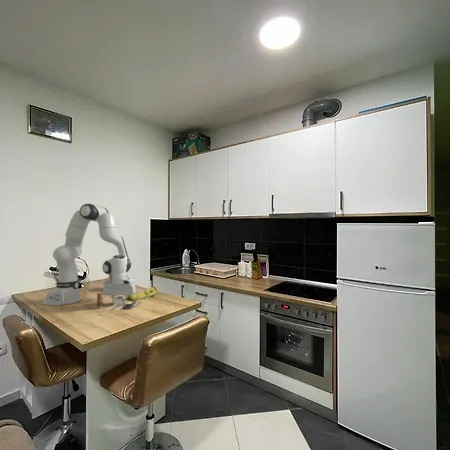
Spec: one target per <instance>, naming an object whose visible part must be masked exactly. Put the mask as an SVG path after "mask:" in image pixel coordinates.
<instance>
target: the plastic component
mask: <svg viewBox="0 0 450 450" xmlns="http://www.w3.org/2000/svg"><path fill="white" fill-rule="evenodd" d="M158 290H159V289H158V287H156V285H152V286H151V287H149V288H147V289H145V291H141V292H137V293H135V294H134V295H128V296H127V298H126V299H130V300H131V302H139V301H141V300H145V299H149V298H150V297H152V296H155V295H156V294H157V293H158Z"/></svg>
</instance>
